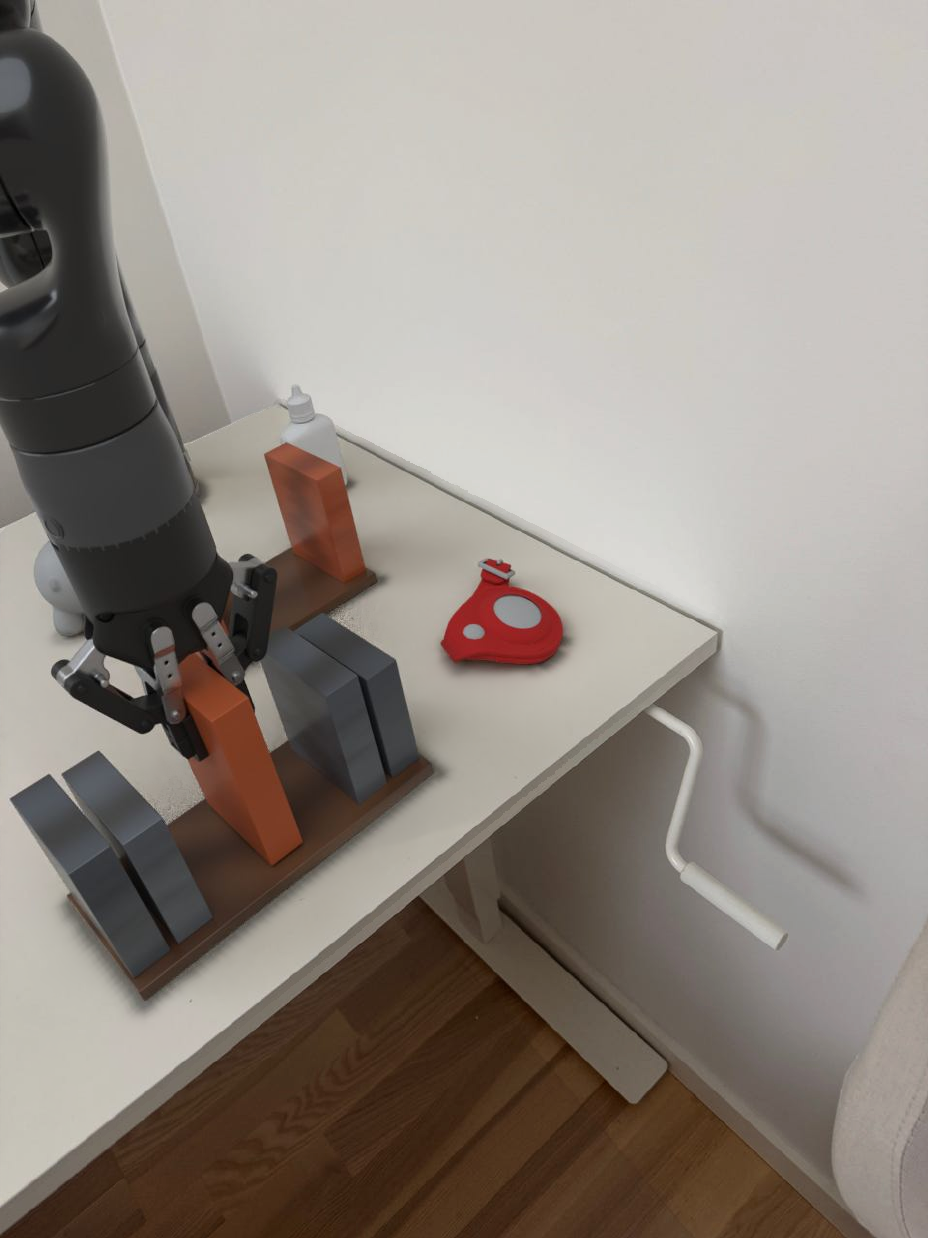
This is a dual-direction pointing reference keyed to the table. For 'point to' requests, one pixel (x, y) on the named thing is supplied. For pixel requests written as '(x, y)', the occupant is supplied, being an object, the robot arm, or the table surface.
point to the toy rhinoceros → (58, 592)
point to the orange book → (237, 763)
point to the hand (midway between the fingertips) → (218, 737)
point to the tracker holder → (502, 622)
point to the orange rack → (311, 540)
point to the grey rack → (202, 840)
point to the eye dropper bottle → (311, 430)
